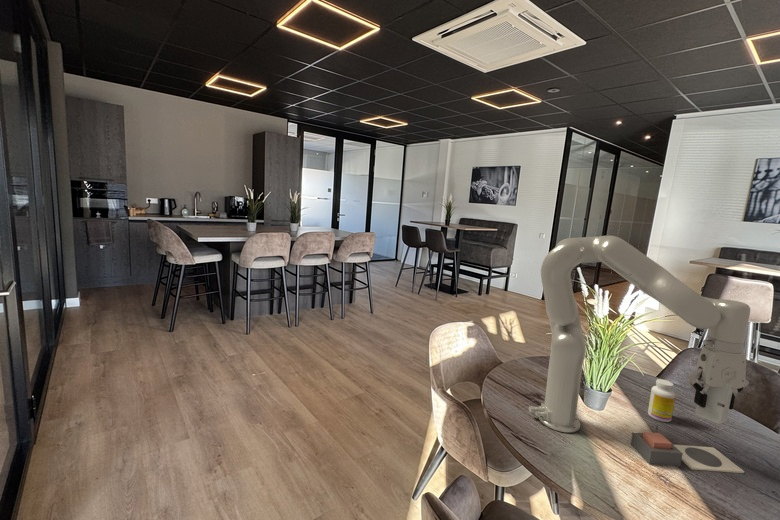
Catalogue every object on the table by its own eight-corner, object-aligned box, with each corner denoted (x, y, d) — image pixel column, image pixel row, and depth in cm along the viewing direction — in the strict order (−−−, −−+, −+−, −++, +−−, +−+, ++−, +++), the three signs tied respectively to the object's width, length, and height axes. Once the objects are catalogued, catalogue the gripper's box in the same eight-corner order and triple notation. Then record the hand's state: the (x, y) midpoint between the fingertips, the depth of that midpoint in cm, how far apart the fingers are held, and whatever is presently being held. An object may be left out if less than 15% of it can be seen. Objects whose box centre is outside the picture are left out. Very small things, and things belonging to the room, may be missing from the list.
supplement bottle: (675, 424, 120) (681, 388, 118) (653, 421, 121) (659, 385, 119) (664, 413, 126) (670, 379, 125) (643, 410, 128) (649, 376, 126)
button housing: (649, 464, 100) (651, 451, 99) (630, 444, 108) (632, 432, 107) (680, 466, 99) (682, 453, 99) (659, 446, 108) (661, 434, 107)
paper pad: (691, 469, 98) (691, 467, 98) (665, 445, 108) (665, 443, 108) (744, 473, 98) (744, 471, 98) (713, 448, 108) (713, 447, 108)
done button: (652, 452, 101) (654, 442, 101) (641, 441, 106) (643, 431, 105) (670, 453, 101) (672, 443, 100) (658, 442, 106) (660, 433, 105)
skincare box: (693, 414, 103) (700, 374, 101) (700, 410, 105) (707, 371, 103) (721, 425, 98) (729, 383, 96) (727, 421, 100) (735, 380, 98)
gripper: (702, 348, 95) (691, 411, 97) (770, 352, 94) (757, 415, 97) (681, 338, 102) (671, 397, 105) (744, 342, 102) (732, 400, 104)
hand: (713, 405), depth 101 cm, fingers closed on skincare box, 6 cm apart
